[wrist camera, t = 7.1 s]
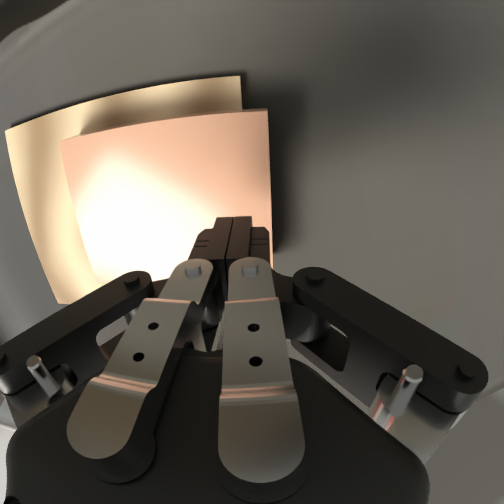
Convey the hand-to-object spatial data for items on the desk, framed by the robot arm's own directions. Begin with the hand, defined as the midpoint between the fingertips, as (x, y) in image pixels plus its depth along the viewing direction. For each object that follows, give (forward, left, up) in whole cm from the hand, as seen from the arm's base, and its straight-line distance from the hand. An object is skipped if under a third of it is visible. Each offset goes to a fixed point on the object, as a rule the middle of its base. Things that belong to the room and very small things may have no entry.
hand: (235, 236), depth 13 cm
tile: (-2, 0, -5) cm, 5 cm away
